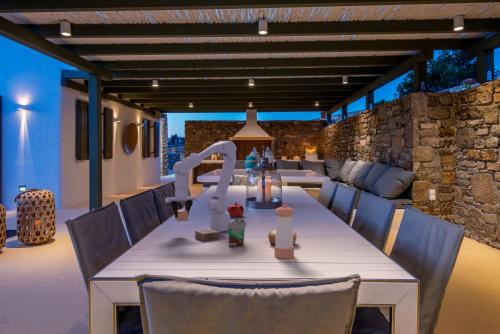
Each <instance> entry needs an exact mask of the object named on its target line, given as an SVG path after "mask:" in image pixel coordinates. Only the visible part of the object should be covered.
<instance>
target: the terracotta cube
mask: <svg viewBox="0 0 500 334" xmlns="http://www.w3.org/2000/svg"><path fill="white" fill-rule="evenodd" d="M188 219H189V215H188V211H187V210H185V209H178V218H175V217H174V220H175V221H176V222H186V221H187V222H188V221H189V220H188Z"/></svg>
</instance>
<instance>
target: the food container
mask: <svg viewBox="0 0 500 334" xmlns="http://www.w3.org/2000/svg"><path fill="white" fill-rule="evenodd" d="M246 227H247V223H246V220H245V219H242V218H237V217H234V221H232V222H230V223H228V229H229V231H228V248H239V247H243V246H244V242H245V231H246Z"/></svg>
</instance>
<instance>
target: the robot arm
mask: <svg viewBox="0 0 500 334" xmlns="http://www.w3.org/2000/svg"><path fill="white" fill-rule="evenodd" d="M237 149H238V148H237V146H236V143H234V141H232V140H224V141H223V140H220V141H217V142H215V143H213V144H211V145H210V146H208V147H207V148H205V149H204V150H202V151H201V152H199V153H196V152H194V153H193V152H192V153H190V154H189V156H188V157H186V158H182V159H181V161H176V162H175V163H174V165H173V167H172V171H173V173H174V197H173V196H171V197H165V200H164V201H165V203H167V204H168V203H169V205H170V207H171V208H172V211H173V215H174V219H175V218H178V210H179V208H178V207H179V203H180V202H184V207H185V208H184V210H187V211H188V216H189V215H190V211H191V208H192V206H193V205H194V202H195V201H196V202H197V201H198V196H196V195H194V196H191V195H189V194H188V192H189V190H188V188H189V187H188V186H189V185H188V183H189V182H188V181H189V179H188V175H189V173H190V171H191V170H193V169H194V168H196V167H198V166H199V165H201V164H202V163H203V162H202V161H203V160H204V159H207V158H209V157H210V156H212V155H215V154H218V155H220V157H221V158H222V159H223V161H224V162H223V163H224V164H223V166H222V170H221V173H220V176H219V179H218V183H217V186H216V189H215V192H213V193H212V195H211V197H210V198H209V200H208V201H207V208H208V209H209V227H208V228H206V229H213V230H216V231H218V232H219V233H220V232H229V229H228V223H231V216H230V214H229V213H228V212H227V209H228V207H229V206H228V200H229V198H228V196H227V193H228V190H229V186H230V183H231V180H232V177H233V173H234V170H235V166H236V162H237V153H236V151H237Z"/></svg>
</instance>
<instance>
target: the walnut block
mask: <svg viewBox="0 0 500 334" xmlns="http://www.w3.org/2000/svg"><path fill="white" fill-rule="evenodd" d="M194 232H195V233H194V234H195V236H194V237H195V239H197V240H199V241H201V242H208V241H214V240H220V232H218V231H216V230H213V229H207V228H205V229H198V230H197V229H196V230H195V231H194Z"/></svg>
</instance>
